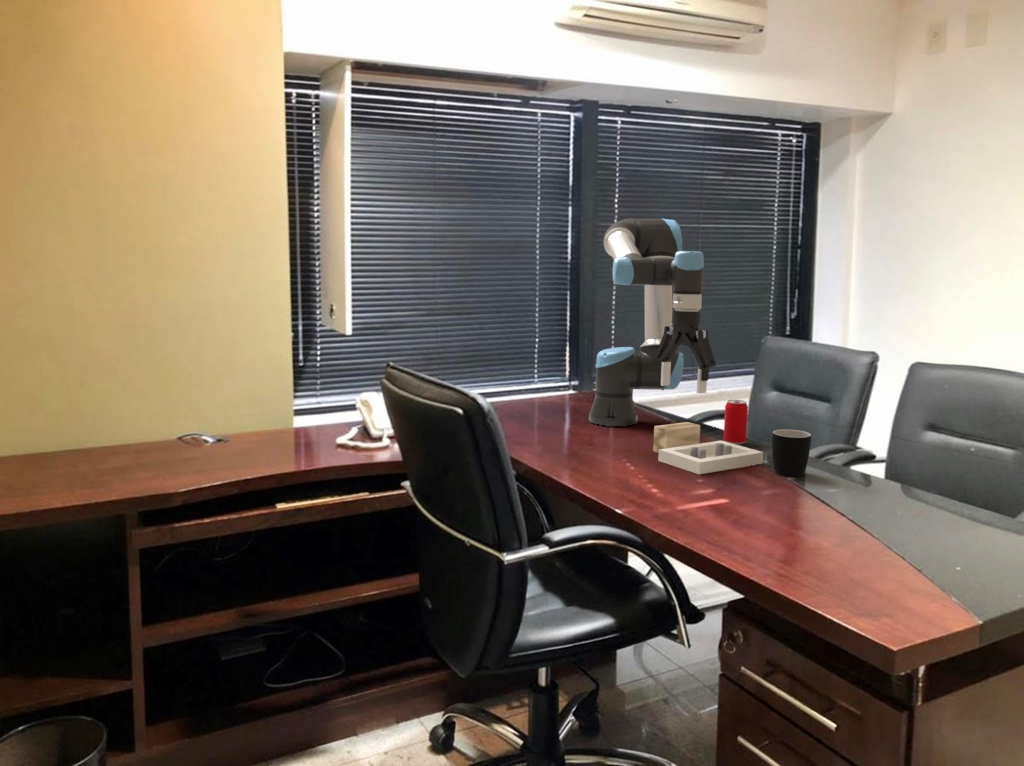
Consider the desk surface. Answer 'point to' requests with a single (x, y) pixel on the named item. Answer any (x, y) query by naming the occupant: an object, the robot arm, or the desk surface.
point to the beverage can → (735, 422)
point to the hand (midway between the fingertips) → (682, 389)
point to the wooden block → (675, 435)
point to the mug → (790, 451)
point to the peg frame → (710, 457)
